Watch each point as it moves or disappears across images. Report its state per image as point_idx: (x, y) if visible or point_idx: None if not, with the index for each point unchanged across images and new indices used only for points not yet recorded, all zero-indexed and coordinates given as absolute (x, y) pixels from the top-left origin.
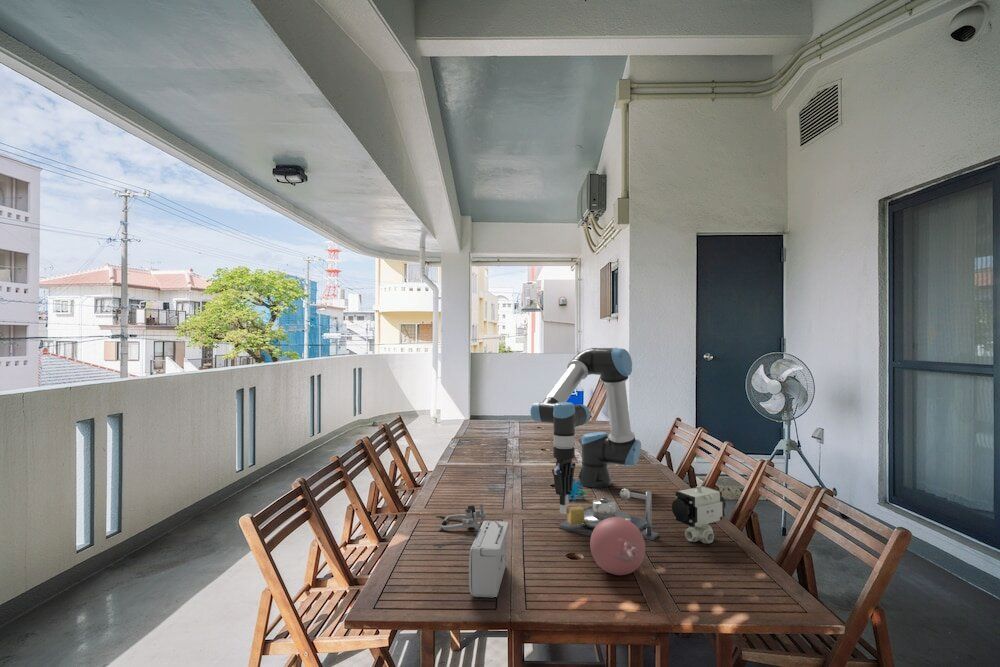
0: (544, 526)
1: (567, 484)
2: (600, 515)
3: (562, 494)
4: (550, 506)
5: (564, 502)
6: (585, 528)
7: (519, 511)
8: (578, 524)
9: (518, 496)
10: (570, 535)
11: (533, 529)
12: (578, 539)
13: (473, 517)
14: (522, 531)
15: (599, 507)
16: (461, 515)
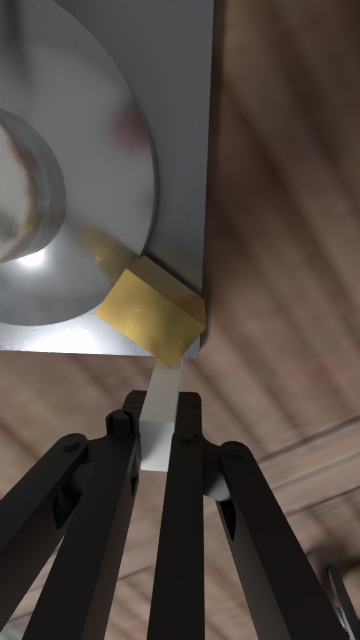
0: (216, 402)
1: (118, 510)
2: (53, 177)
3: (241, 447)
4: (16, 471)
5: (181, 400)
6: (166, 233)
7: (137, 524)
8: None
9: None
10: (247, 272)
11: (269, 420)
12: (273, 216)
13: (350, 602)
14: (310, 441)
15: (25, 181)
16: None
